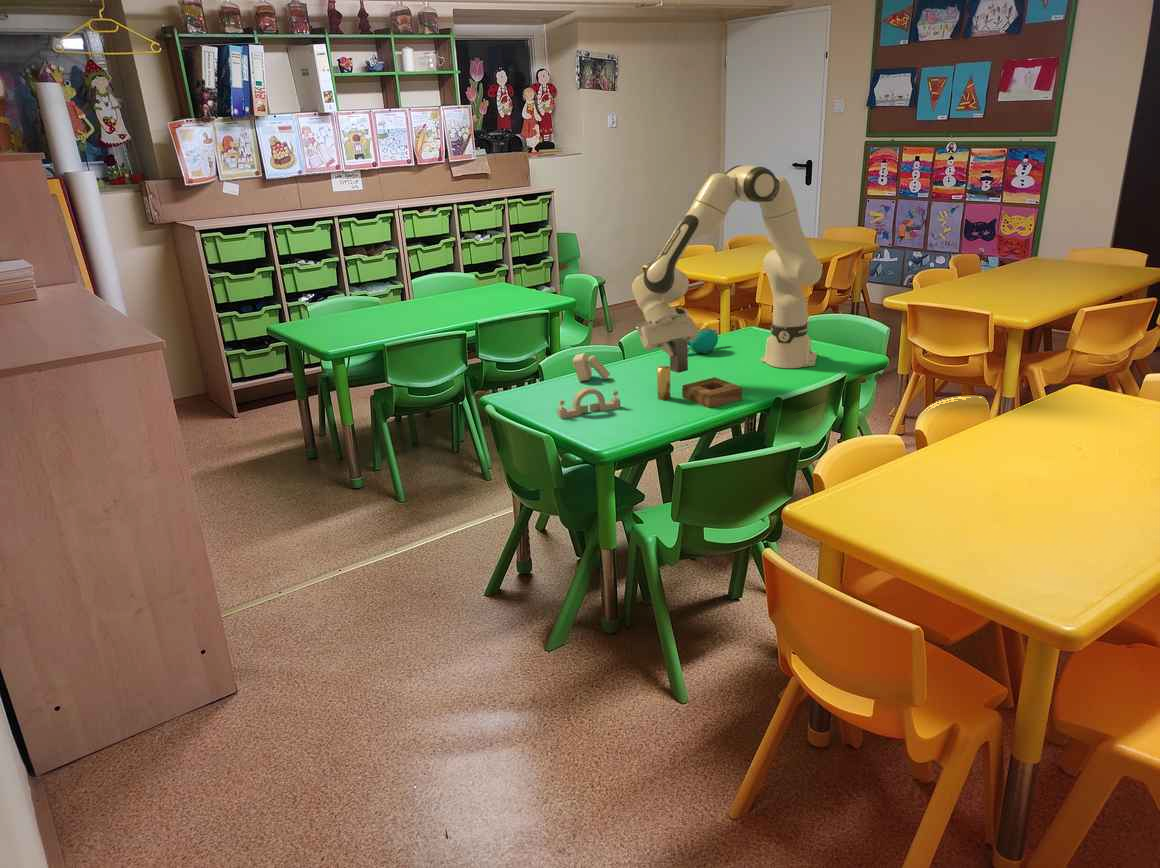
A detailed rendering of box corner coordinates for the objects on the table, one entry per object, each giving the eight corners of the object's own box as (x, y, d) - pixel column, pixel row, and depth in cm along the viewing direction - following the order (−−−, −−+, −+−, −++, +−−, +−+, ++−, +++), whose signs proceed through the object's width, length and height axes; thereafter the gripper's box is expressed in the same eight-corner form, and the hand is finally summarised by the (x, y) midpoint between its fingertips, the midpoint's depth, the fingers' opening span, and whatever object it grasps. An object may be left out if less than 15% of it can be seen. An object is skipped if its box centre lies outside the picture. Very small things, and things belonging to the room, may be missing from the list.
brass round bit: (660, 395, 257) (660, 365, 253) (672, 396, 255) (672, 366, 251) (655, 399, 254) (655, 368, 250) (667, 400, 252) (667, 369, 248)
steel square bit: (670, 370, 260) (669, 340, 256) (680, 367, 261) (679, 337, 258) (677, 372, 256) (677, 342, 253) (687, 370, 258) (687, 340, 254)
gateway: (617, 407, 250) (616, 382, 247) (620, 409, 248) (619, 384, 245) (558, 418, 244) (556, 392, 241) (560, 420, 242) (559, 394, 239)
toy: (683, 320, 325) (733, 322, 300) (685, 344, 328) (735, 348, 302) (638, 329, 315) (685, 332, 289) (641, 354, 317) (688, 359, 292)
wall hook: (609, 381, 272) (601, 353, 269) (580, 387, 275) (572, 360, 271) (612, 374, 279) (604, 346, 276) (584, 380, 282) (576, 354, 279)
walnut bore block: (682, 397, 254) (682, 385, 253) (714, 389, 260) (714, 377, 258) (708, 408, 243) (708, 395, 242) (741, 399, 249) (742, 386, 248)
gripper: (638, 319, 253) (657, 355, 249) (689, 308, 263) (709, 343, 258) (630, 330, 259) (649, 366, 254) (681, 319, 268) (700, 353, 263)
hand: (679, 354), depth 256 cm, fingers closed on steel square bit, 4 cm apart
